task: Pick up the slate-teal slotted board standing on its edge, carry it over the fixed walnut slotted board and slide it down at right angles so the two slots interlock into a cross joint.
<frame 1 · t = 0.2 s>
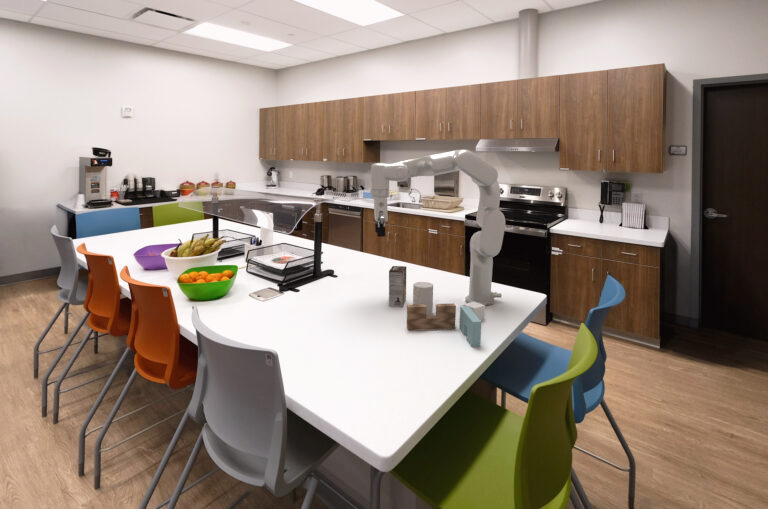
hand: (380, 234, 187), 31 cm above the table, tool pointing down, fingers open, 9 cm apart
walnut slotted board: (430, 327, 168), on the table
teal slotted board: (469, 337, 159), on the table
white cube: (473, 319, 177), on the table
coffee box: (397, 304, 195), on the table
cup: (422, 312, 184), on the table
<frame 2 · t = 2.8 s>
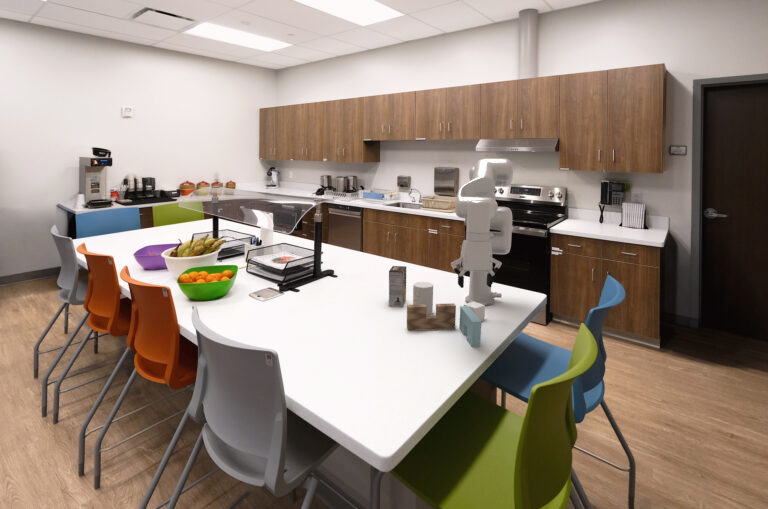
hand: (475, 286, 151), 20 cm above the table, tool pointing down, fingers open, 9 cm apart
nothing on the table moved.
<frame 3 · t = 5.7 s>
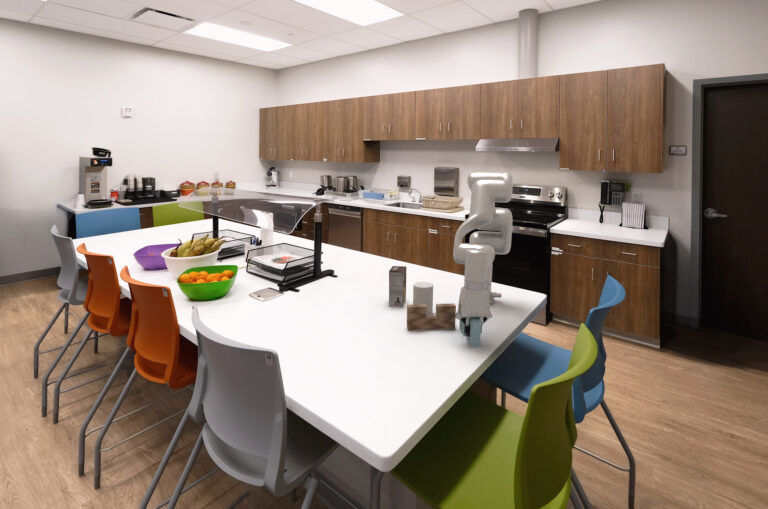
hand: (472, 334, 154), 3 cm above the table, tool pointing down, fingers closed on teal slotted board, 3 cm apart
teal slotted board: (469, 337, 159), on the table, touching gripper
everything else where it was.
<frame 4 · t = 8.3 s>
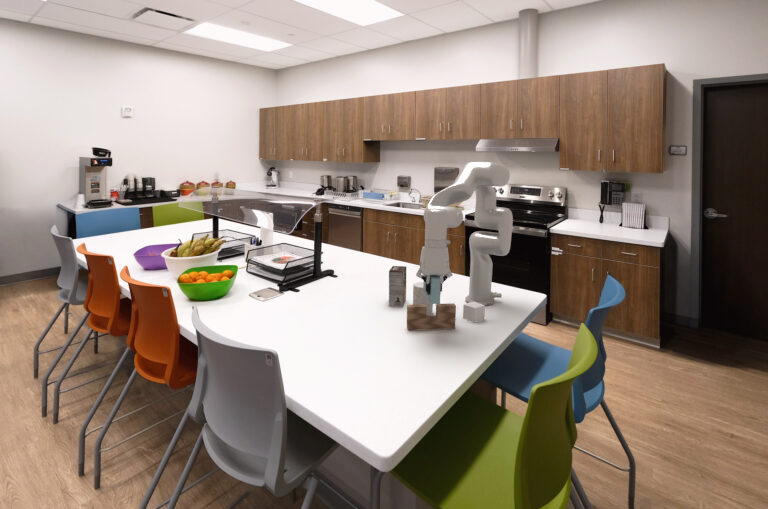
hand: (433, 293, 160), 15 cm above the table, tool pointing down, fingers closed on teal slotted board, 3 cm apart
teal slotted board: (431, 297, 164), point 12 cm above the table, touching gripper
everything else where it was.
when the fingers open (5 cm above the table, at t = 10.9 s): teal slotted board drops 2 cm, on the table.
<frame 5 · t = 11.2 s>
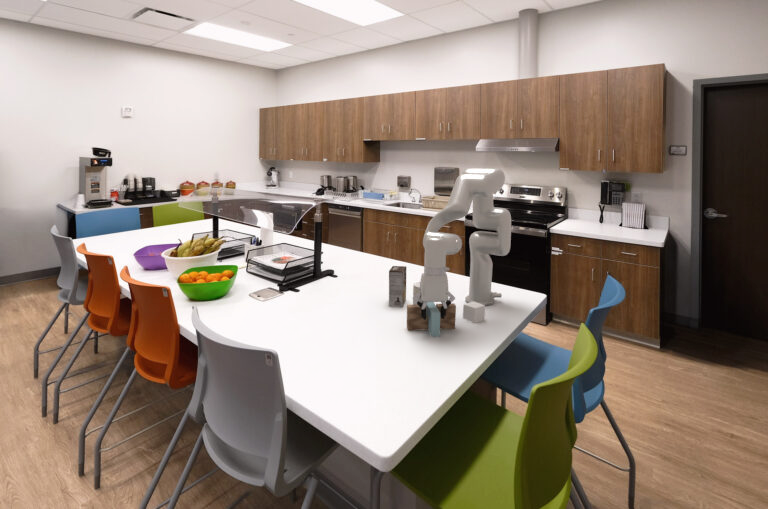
hand: (433, 317, 162), 6 cm above the table, tool pointing down, fingers open, 6 cm apart
teal slotted board: (431, 328, 167), on the table
everything else where it was.
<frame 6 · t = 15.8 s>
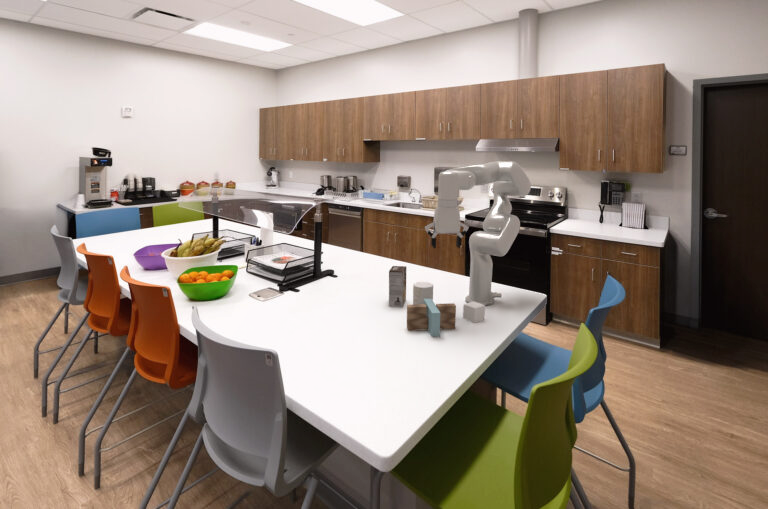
hand: (446, 247, 175), 28 cm above the table, tool pointing down, fingers open, 9 cm apart
nothing on the table moved.
at the end: teal slotted board 0.2 cm off-centre on the walnut slotted board, point 0.0 cm above the walnut slotted board's base; teal slotted board tilted 0°; the gripper is holding nothing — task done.
